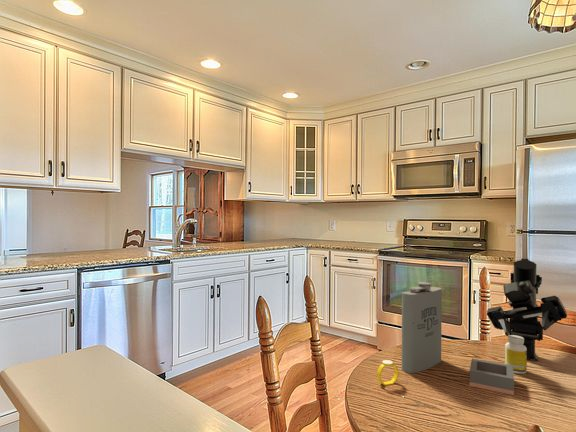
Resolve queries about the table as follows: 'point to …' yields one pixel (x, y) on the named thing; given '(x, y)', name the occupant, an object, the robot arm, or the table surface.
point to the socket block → (492, 376)
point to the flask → (421, 327)
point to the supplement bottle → (516, 354)
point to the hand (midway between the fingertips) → (524, 331)
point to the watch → (384, 364)
